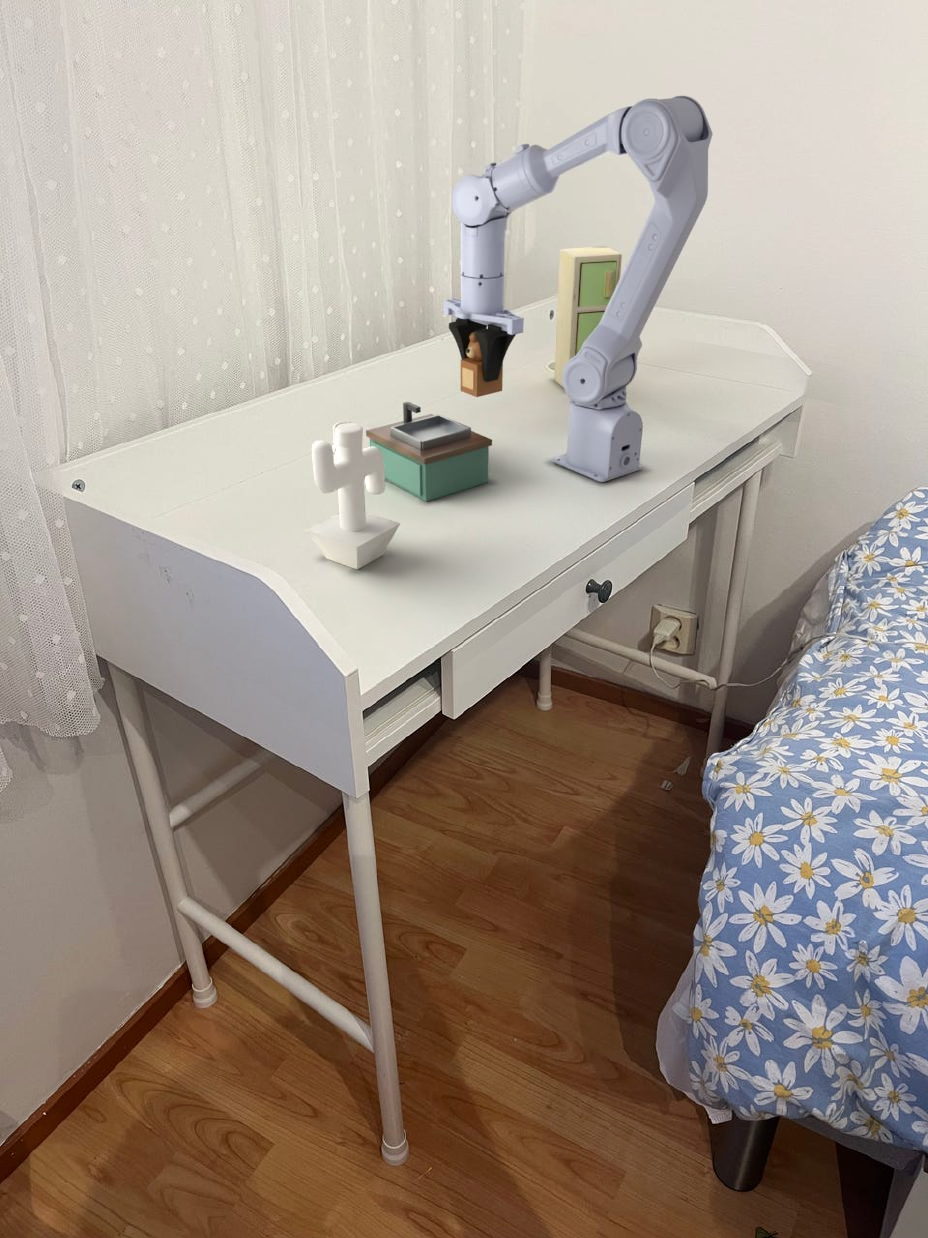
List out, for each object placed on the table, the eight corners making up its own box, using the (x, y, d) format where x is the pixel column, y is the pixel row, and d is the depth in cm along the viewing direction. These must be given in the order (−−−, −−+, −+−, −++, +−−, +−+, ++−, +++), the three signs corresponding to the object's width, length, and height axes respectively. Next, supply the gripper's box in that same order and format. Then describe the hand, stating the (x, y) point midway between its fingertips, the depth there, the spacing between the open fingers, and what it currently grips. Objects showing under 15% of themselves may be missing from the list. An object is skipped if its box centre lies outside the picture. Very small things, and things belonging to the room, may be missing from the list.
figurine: (407, 549, 108) (404, 419, 100) (351, 582, 101) (343, 445, 94) (358, 533, 112) (351, 406, 104) (300, 563, 105) (288, 430, 97)
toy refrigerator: (568, 393, 157) (576, 256, 146) (552, 380, 163) (559, 248, 152) (614, 389, 159) (625, 254, 148) (596, 376, 165) (606, 245, 154)
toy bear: (502, 390, 135) (503, 330, 131) (474, 397, 133) (474, 336, 128) (485, 384, 138) (486, 325, 133) (457, 391, 135) (457, 331, 131)
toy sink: (491, 482, 125) (492, 415, 120) (421, 504, 119) (419, 435, 114) (432, 454, 133) (431, 391, 129) (363, 473, 127) (360, 408, 123)
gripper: (425, 269, 130) (426, 369, 137) (495, 287, 120) (493, 394, 127) (466, 262, 134) (465, 361, 141) (537, 280, 124) (533, 384, 131)
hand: (481, 376), depth 134 cm, fingers closed on toy bear, 3 cm apart
